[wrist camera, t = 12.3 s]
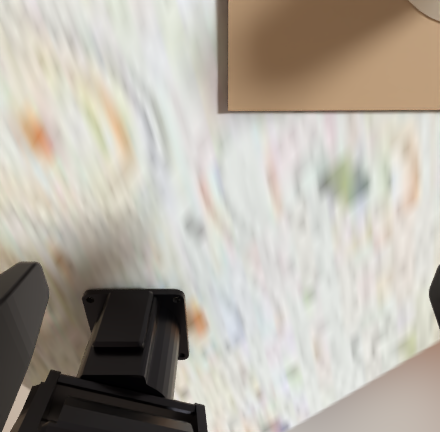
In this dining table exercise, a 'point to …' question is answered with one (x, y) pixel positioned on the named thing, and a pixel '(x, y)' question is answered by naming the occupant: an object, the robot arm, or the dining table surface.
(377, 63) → the kraft pad
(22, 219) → the dining table surface
